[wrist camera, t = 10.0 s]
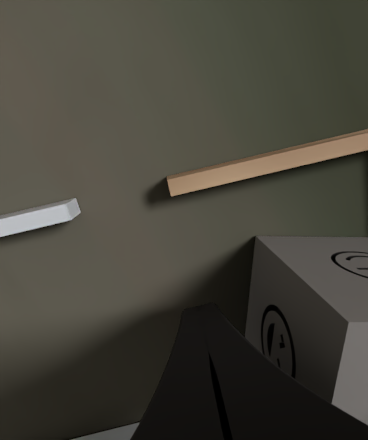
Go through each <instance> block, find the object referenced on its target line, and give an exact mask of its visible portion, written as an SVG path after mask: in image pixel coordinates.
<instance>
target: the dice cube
mask: <svg viewBox="0 0 368 440" xmlns="http://www.w3.org/2000/svg"><path fill="white" fill-rule="evenodd" d="M245 338H246V339H247V340H248V341H249V342H250V343H251V344H252V345H253V346H254V347H256V348H257V349H258V350H259V351H260V352H261V353H262V354H264V355H265V356H266V357H267V358H268V359H269V360H271V361H272V362H273V363H274V364H276V365H277V366H278V367H279V368H281V369H282V370H283V371H285V372H286V373H287V374H289V375H290V376H291V377H293V378H294V379H295V380H297V381H298V382H300V383H301V384H302V385H304V386H305V387H307V388H308V389H310V390H311V391H313V392H314V393H316V394H317V395H319V396H320V397H322V398H323V399H325V400H326V401H328V402H330V403H331V404H333V405H335V406H336V407H338V408H340V409H341V410H343V411H345V412H346V413H348V414H350V415H351V416H353V417H355V418H356V419H358V420H360V421H361V422H363V423H365V424H366V425H368V237H301V236H256V237H255V246H254V256H253V265H252V274H251V283H250V293H249V302H248V311H247V321H246V330H245Z"/></svg>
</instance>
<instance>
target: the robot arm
mask: <svg viewBox="0 0 368 440" xmlns="http://www.w3.org/2000/svg"><path fill="white" fill-rule="evenodd" d="M130 440H368V425H366V424H365V423H363V422H361V421H360V420H358V419H356V418H355V417H353V416H351V415H350V414H348V413H346V412H345V411H343V410H341V409H340V408H338V407H336V406H335V405H333V404H331V403H330V402H328V401H326V400H325V399H323V398H322V397H320V396H319V395H317V394H316V393H314V392H313V391H311V390H310V389H308V388H307V387H305V386H304V385H302V384H301V383H300V382H298V381H297V380H295V379H294V378H293V377H291V376H290V375H289V374H287V373H286V372H285V371H283V370H282V369H281V368H279V367H278V366H277V365H276V364H274V363H273V362H272V361H271V360H269V359H268V358H267V357H266V356H265V355H264V354H262V353H261V352H260V351H259V350H258V349H257V348H256V347H254V346H253V345H252V344H251V343H250V342H249V341H248V340H247V339H246V338H245V337H244V336H243V335H242V334H241V333H240V332H239V331H238V330H237V329H236V328H235V327H234V326H233V325H232V324H231V323H230V322H229V320H228V319H227V318H226V317H225V316H224V315H223V313H222V312H221V311H220V309H219V308H218V306H217V305H216V304H214V303H213V302H212V303H208V304H204V305H200V306H196V307H192V308H188V309H184V311H183V312H182V314H181V321H180V325H179V329H178V333H177V336H176V340H175V343H174V346H173V349H172V352H171V355H170V357H169V360H168V363H167V365H166V368H165V370H164V372H163V375H162V377H161V380H160V382H159V385H158V387H157V389H156V391H155V393H154V395H153V398H152V400H151V402H150V404H149V406H148V408H147V410H146V412H145V413H144V415H143V417H142V419H141V421H140V423H139V425H138V427H137V428H136V430H135V432H134V434H133V435H132V437H131V439H130Z"/></svg>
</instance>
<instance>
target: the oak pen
mask: <svg viewBox="0 0 368 440" xmlns="http://www.w3.org/2000/svg"><path fill="white" fill-rule="evenodd" d="M366 150H368V129H366V130H362V131H358V132H353V133H349V134H345V135H341V136H336V137H332V138H328V139H324V140H319V141H315V142H311V143H307V144H302V145H298V146H294V147H290V148H285V149H281V150H277V151H273V152H268V153H264V154H260V155H256V156H251V157H247V158H243V159H239V160H234V161H230V162H226V163H222V164H217V165H213V166H209V167H205V168H200V169H196V170H192V171H188V172H183V173H179V174H175V175H171V176H167V181H168V186H169V190H170V194H171V196H176V195H180V194H184V193H188V192H193V191H197V190H201V189H205V188H209V187H214V186H218V185H222V184H226V183H231V182H235V181H239V180H243V179H247V178H252V177H256V176H260V175H264V174H269V173H273V172H277V171H281V170H285V169H290V168H294V167H298V166H302V165H307V164H311V163H315V162H319V161H324V160H328V159H332V158H336V157H340V156H345V155H349V154H353V153H357V152H362V151H366Z"/></svg>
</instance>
